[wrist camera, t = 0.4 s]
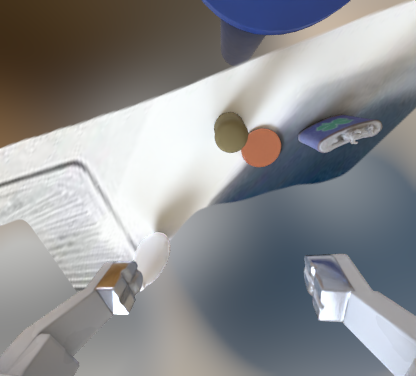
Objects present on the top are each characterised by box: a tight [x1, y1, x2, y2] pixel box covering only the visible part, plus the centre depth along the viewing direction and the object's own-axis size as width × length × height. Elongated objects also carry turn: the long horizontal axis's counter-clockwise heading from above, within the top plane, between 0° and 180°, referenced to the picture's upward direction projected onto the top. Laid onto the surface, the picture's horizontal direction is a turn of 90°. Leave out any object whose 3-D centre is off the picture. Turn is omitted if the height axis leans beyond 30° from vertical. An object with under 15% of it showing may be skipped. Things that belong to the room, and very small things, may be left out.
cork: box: [214, 112, 248, 153], centre depth 32 cm, size 6×6×11 cm
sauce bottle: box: [133, 232, 170, 291], centre depth 42 cm, size 8×8×18 cm
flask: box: [298, 115, 382, 153], centre depth 31 cm, size 9×3×11 cm, turn 114°
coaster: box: [241, 128, 281, 167], centre depth 38 cm, size 8×8×1 cm
